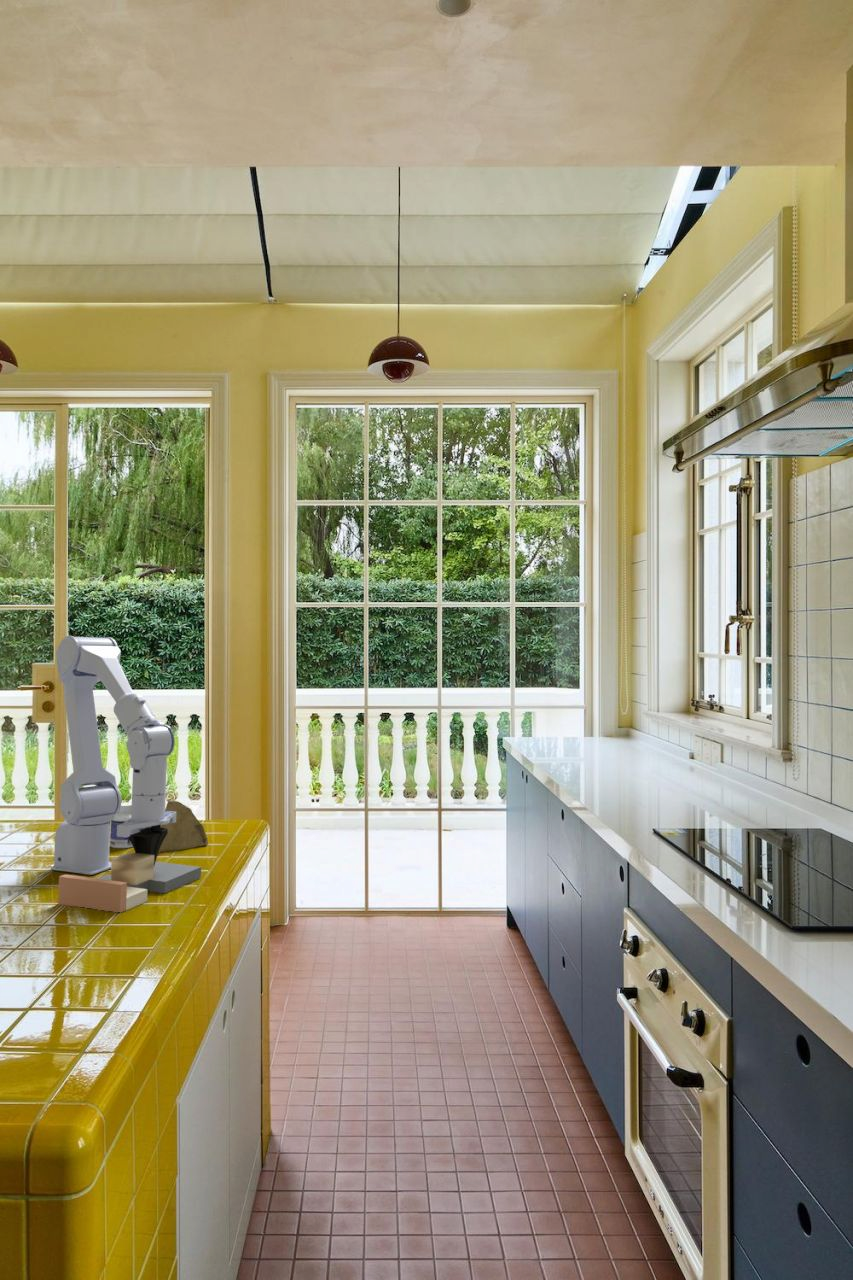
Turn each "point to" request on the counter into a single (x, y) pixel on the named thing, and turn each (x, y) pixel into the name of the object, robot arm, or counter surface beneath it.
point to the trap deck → (122, 888)
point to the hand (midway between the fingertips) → (146, 870)
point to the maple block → (132, 868)
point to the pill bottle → (119, 818)
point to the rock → (183, 829)
